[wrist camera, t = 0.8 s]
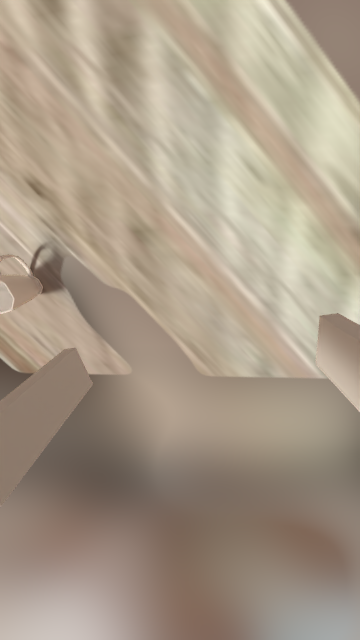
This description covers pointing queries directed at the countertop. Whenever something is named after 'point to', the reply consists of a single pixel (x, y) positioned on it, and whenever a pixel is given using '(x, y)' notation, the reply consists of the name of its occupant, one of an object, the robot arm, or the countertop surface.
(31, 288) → the cup
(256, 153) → the countertop surface
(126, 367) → the countertop surface
